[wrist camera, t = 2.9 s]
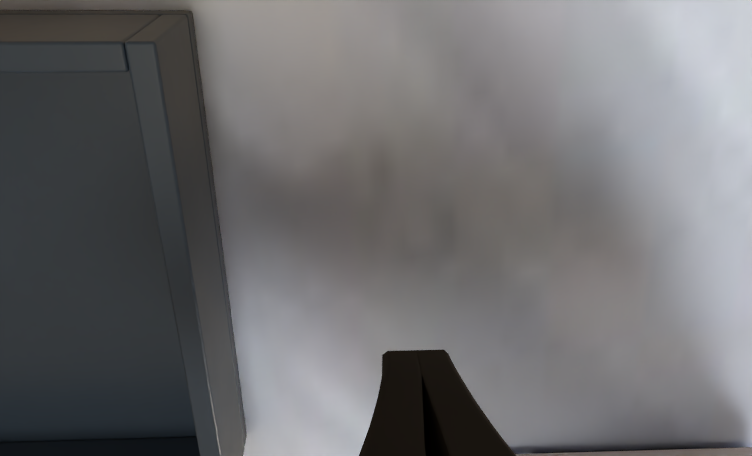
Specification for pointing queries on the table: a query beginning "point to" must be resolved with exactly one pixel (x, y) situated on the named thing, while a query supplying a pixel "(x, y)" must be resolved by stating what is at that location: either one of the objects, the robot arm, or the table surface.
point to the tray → (110, 242)
